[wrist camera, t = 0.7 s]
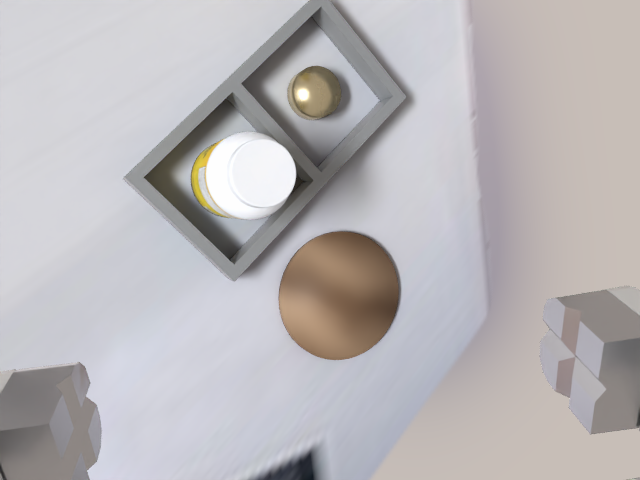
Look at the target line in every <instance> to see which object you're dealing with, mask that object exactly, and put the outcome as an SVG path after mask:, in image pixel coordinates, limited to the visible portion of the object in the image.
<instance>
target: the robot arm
mask: <svg viewBox="0 0 640 480" xmlns="http://www.w3.org/2000/svg"><path fill="white" fill-rule="evenodd" d="M543 321H544V322H545V323H546V324H547V326H548V327H549V328H550V329H549V331H548V332H547V333H546V335H545V336H544V337H543V339H542V340H541V345H540V360H541V364H542V369H543V372H544V374H545V376H546V378H547V381H548V382H549V384H550V385H551V386H552V388H553V389H554V390H555V391H556V392H558V393H561V394H562V395H565V396H567V397H569V398H570V402H569V409H570V410H571V411H572V412H573V414H574V415H575V416H576V417H577V419H579V421H580V422H581V423H582V425H583V426H584V427H585V428H586V430H587V431H588V432H589V433H590V434H596V433H604V432H612V431H619V430H627V429H634V428H639V431H640V290H638V289H637V288H635V287H630V286H623V287H617V288H612V289H606V290H601V291H596V292H589V293H583V294H577V295H570V296H564V297H558V298H552V299H548V300H547V302H546V304H545V307H544V314H543ZM89 385H90V381H89V377H88V374H87V371H86V368H85V366H83V365H82V364H81V363H80V362H77V363H68V364H60V365H51V366H43V367H34V368H26V369H19V370H8V371H1V372H0V480H90V479H89V476H88V472H87V470H88V469H89V468H90V467H91V466H92V465H94V464H95V463H96V462H97V459H98V455H99V452H100V448H101V432H102V430H101V422H100V415H99V412H98V408H97V405H96V404H95V403H94V402H92V401H91V400H90V399H88V398H87V397H86V394H87V391H88V388H89ZM628 480H640V478H634V479H628Z"/></svg>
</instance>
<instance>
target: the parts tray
mask: <svg viewBox="0 0 640 480" xmlns="http://www.w3.org/2000/svg"><path fill="white" fill-rule="evenodd" d="M310 17H312V18H313V19H314V20H315V21H316V23H317V24H318V25H319V26H320V28H321V29H322V30H323V31H324V32H325V34H326V35H327V36H328V37H329V39H330V40H331V41H332V42H333V43H334V45H335V46H336V47H337V48H338V50H339V51H340V52H341V53H342V54H343V56H344V57H345V58H346V59H347V61H348V62H349V63H350V64H351V66H352V67H353V68H354V69H355V70H356V72H357V73H358V74H359V75H360V77H361V78H362V79H363V80H364V81H365V83H366V84H367V85H368V86H369V88H370V89H371V90H372V91H373V92H374V94H375V95H376V96H377V97H378V99H379V100H380V102H379V103H378V104H377V105H376V106H375V107H374V108H373V109H372V110H371V111H370V112H369V113H368V114H367V115H366V116H365V117H364V118H363V119H362V121H361V122H360V123H359V124H358V125H357V126H356V127H355V128H354V129H353V130H352V131H351V132H350V133H349V134H348V135H347V136H346V137H345V138H344V140H343V141H342V142H341V143H340V144H339V145H338V146H337V147H336V148H335V149H334V150H333V151H332V152H331V153H330V154H329V155H328V156H327V157H326V159H325V160H324V161H323V162H322V163H321V164H320V165H319V166H318V167H316V166H315V165H314V164H313V163H312V162H311V160H310V159H309V158H308V157H307V156H306V155H305V154H304V153H303V152H302V151H301V149H300V148H299V147H298V146H297V145H296V144H295V143H294V142H293V141H292V139H291V138H290V137H289V136H288V135H287V134H286V133H285V132H284V131H283V129H282V128H281V127H280V126H279V125H278V124H277V123H276V122H275V121H274V120H273V118H272V117H271V116H270V115H269V114H268V113H267V112H266V111H265V110H264V108H263V107H262V106H261V105H260V104H259V103H258V102H257V101H256V100H255V98H254V97H253V96H252V95H251V94H250V93H249V92H248V91H247V90H246V89H245V87H244V86H243V85H242V84H241V83H242V82H243V81H244V80H245V79H246V78H247V77H248V76H249V75H251V74H252V73H253V72H254V71H255V70H256V69H257V68H258V67H259V66H260V65H261V64H262V63H263V62H264V61H265V60H266V59H267V58H268V57H269V56H270V55H271V54H272V53H273V52H274V51H275V50H276V49H277V48H279V47H280V46H281V45H282V44H283V43H284V42H285V41H286V40H287V39H288V38H289V37H290V36H291V35H292V34H293V33H294V32H295V31H296V30H297V29H298V28H299V27H300V26H301V25H302V24H303V23H304V22H306V21H307V20H308V19H309V18H310ZM226 98H227V99H228V100H229V101H230V102H231V103H232V104H233V106H234V107H235V108H236V109H237V110H238V111H239V112H240V113H241V114H242V115H243V116H244V117H245V119H246V120H247V121H248V122H249V123H250V124H251V125H252V126H253V127H254V128H255V129H256V130H257V132H259V133H262V134H265V135H267V136H269V137H271V138H273V139H274V140H276V141H277V142H278V143H279V144H281V145H282V146H283V147H285V148H286V149H287V150H288V152H289V153H290V155H291V156H292V158H293V160H294V163H295V167H296V174H297V175H298V176H299V177H300V178H301V179H302V180H303V181H304V182H303V183H302V184H301V185H300V186H299V187H298V188H297V189H296V190H295V191H294V192H293V193H292V194H291V196H290V197H289V198H288V199H287V200H286V202H285V203H284V204H283V205H282V207H281V208H280V209H278V210H277V211H276V212H274V213H273V215H272V216H271V217H270V218H269V219H268V220H267V221H266V222H265V223H264V224H263V225H262V226H261V227H260V228H259V229H258V230H257V231H256V232H255V234H254V235H253V236H252V237H251V238H250V239H249V240H248V241H247V242H246V243H245V244H244V245H243V246H242V247H241V248H240V249H239V250H238V252H237V253H236V254H235V255H234V256H233V257H232V258H231V259H230V260H229V259H228V258H227V257H226V256H225V255H224V254H223V253H222V252H221V251H219V250H218V249H217V248H216V247H215V246H214V245H213V244H212V243H211V242H210V241H209V240H208V239H207V238H206V237H205V236H204V235H203V234H202V233H201V232H200V231H199V230H198V229H197V228H196V227H195V226H194V225H193V224H192V223H190V222H189V221H188V220H187V219H186V218H185V217H184V216H183V215H182V214H181V213H180V212H179V211H178V210H177V209H176V208H175V207H174V206H173V205H172V204H171V203H170V202H169V201H168V200H167V199H166V198H165V197H164V196H162V195H161V194H160V193H159V192H158V191H157V190H156V189H155V188H154V187H153V186H152V185H151V184H150V183H149V182H148V181H147V180H146V179H145V178H144V177H145V176H146V175H147V174H148V173H149V172H150V171H151V170H152V169H153V168H154V167H155V166H156V165H157V164H158V163H159V162H160V161H161V160H162V159H163V158H164V157H165V156H166V155H167V154H168V153H170V152H171V151H172V150H173V149H174V148H175V147H176V146H177V145H178V144H179V143H180V142H181V141H182V140H183V139H184V138H185V137H186V136H187V135H188V134H189V133H190V132H191V131H192V130H193V129H194V128H195V127H197V126H198V125H199V124H200V123H201V122H202V121H203V120H204V119H205V118H206V117H207V116H208V115H209V114H210V113H211V112H212V111H213V110H214V109H215V108H216V107H217V106H218V105H219V104H220V103H221V102H222V101H224V100H225V99H226ZM405 98H406V96H405V94H404V93H403V92H402V90H401V89H400V88H399V87H398V85H397V84H396V83H395V82H394V80H393V79H392V78H391V77H390V75H389V74H388V73H387V72H386V70H385V69H384V68H383V67H382V65H381V64H380V63H379V62H378V60H377V59H376V58H375V57H374V55H373V54H372V53H371V52H370V50H369V49H368V48H367V47H366V45H365V44H364V43H363V42H362V40H361V39H360V38H359V37H358V35H357V34H356V33H355V32H354V30H353V29H352V28H351V26H350V25H349V24H348V23H347V21H346V20H345V19H344V18H343V16H342V15H341V14H340V13H339V11H338V10H337V9H336V8H335V6H334V5H333V4H332V3H331V1H330V0H309V1H308V2H307V3H306V4H305V5H304V6H303V7H302V8H301V9H300V10H299V11H298V12H297V13H296V14H295V15H294V16H293V17H292V18H291V19H290V20H288V21H287V22H286V23H285V24H284V25H283V26H282V27H281V28H280V29H279V30H278V31H277V32H276V33H275V34H274V35H273V36H272V37H271V38H270V39H269V40H268V41H266V42H265V43H264V44H263V45H262V46H261V47H260V48H259V49H258V50H257V51H256V52H255V53H254V54H253V55H252V56H251V57H250V58H249V59H248V60H247V61H245V62H244V63H243V64H242V65H241V66H240V67H239V68H238V69H237V70H236V71H235V72H234V73H233V74H232V75H231V76H230V77H229V78H228V79H227V80H226V81H224V82H223V83H222V84H221V85H220V86H219V87H218V88H217V89H216V90H215V91H214V92H213V93H212V94H211V95H210V96H209V97H208V98H207V99H206V100H205V101H203V102H202V103H201V104H200V105H199V106H198V107H197V108H196V109H195V110H194V111H193V112H192V113H191V114H190V115H189V116H188V117H187V118H186V119H185V120H184V121H183V122H181V123H180V124H179V125H178V126H177V127H176V128H175V129H174V130H173V131H172V132H171V133H170V134H169V135H168V136H167V137H166V138H165V139H164V140H163V141H162V142H160V143H159V144H158V145H157V146H156V147H155V148H154V149H153V150H152V151H151V152H150V153H149V154H148V155H147V156H146V157H145V158H144V159H143V160H142V161H141V162H139V163H138V164H137V165H136V166H135V167H134V168H133V169H132V170H131V171H130V172H129V173H128V174H127V175H126V176H125V177H124V178H123V179H124V180H125V181H126V182H127V183H128V184H129V185H130V186H131V187H132V188H133V189H134V190H135V191H136V192H137V193H138V194H139V195H140V196H142V197H143V198H144V199H145V200H146V201H147V202H148V203H149V204H150V205H151V206H152V207H153V208H154V209H155V210H156V211H157V212H158V213H159V214H160V215H162V216H163V217H164V218H165V219H166V220H167V221H168V222H169V223H170V224H171V225H172V226H173V227H174V228H175V229H176V230H177V231H178V232H179V233H181V234H182V235H183V236H184V237H185V238H186V239H187V240H188V241H189V242H190V243H191V244H192V245H193V246H194V247H195V248H196V249H197V250H198V251H199V252H201V253H202V254H203V255H204V256H205V257H206V258H207V259H208V260H209V261H210V262H211V263H212V264H213V265H214V266H215V267H216V268H217V269H218V270H219V271H221V272H222V273H223V274H224V275H225V276H226V277H227V278H228V279H230V280H232V281H234V282H235V281H236V280H237V278H238V277H239V276H240V275H241V274H242V273H243V272H244V271H245V270H246V269H247V268H248V267H249V266H250V265H251V263H252V262H253V261H254V260H255V259H256V258H257V257H258V256H259V255H260V254H261V253H262V252H263V251H264V250H265V248H266V247H267V246H268V245H269V244H270V243H271V242H272V241H273V240H274V239H275V238H276V237H277V236H278V235H279V233H280V232H281V231H282V230H283V229H284V228H285V227H286V226H287V225H288V224H289V223H290V222H291V221H292V220H293V218H294V217H295V216H296V215H297V214H298V213H299V212H300V211H301V210H302V209H303V208H304V207H305V206H306V204H307V203H308V202H309V201H310V200H311V199H312V198H313V197H314V196H315V195H316V194H317V193H318V192H319V191H320V189H321V188H322V187H323V186H324V185H325V184H326V183H327V182H328V181H329V180H330V179H331V178H332V177H333V176H334V174H335V173H336V172H337V171H338V170H339V169H340V168H341V167H342V166H343V165H344V164H345V163H346V162H347V161H348V159H349V158H350V157H351V156H352V155H353V154H354V153H355V152H356V151H357V150H358V149H359V148H360V147H361V146H362V144H363V143H364V142H365V141H366V140H367V139H368V138H369V137H370V136H371V135H372V134H373V133H374V132H375V131H376V129H377V128H378V127H379V126H380V125H381V124H382V123H383V122H384V121H385V120H386V119H387V118H388V117H389V116H390V114H391V113H392V112H393V111H394V110H395V109H396V108H397V107H398V106H399V105H400V104H401V103H402V102H403V101H404V99H405Z"/></svg>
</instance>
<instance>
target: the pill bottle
mask: <svg viewBox="0 0 640 480" xmlns="http://www.w3.org/2000/svg"><path fill="white" fill-rule="evenodd" d="M295 181H296V167H295V163H294V160H293V158H292V156H291V155H290V153H289V152H288V150H287V149H286V148H285V147H283V146H282V145H281V144H279V143H278V142H277V141H276V140H274V139H273V138H271V137H269V136H267V135H265V134H262V133H259V132H251V131H246V132H239V133H236V134H233V135H231V136H229V137H227V138H225V139H223V140H221V141H219V142H217V143H215V144H213V145H211V146H209V147H208V148H206V149H205V150H204V151H203V152H202V153H201V154H200V155H199V156H198V157H197V159H196V160H195V162H194V165H193V167H192V171H191V187H192V190H193V193H194V195H195V197H196V199H197V201H198V202H199V203H200V204H201V206H202V207H203V208H205V209H206V210H207V211H209V212H210V213H212V214H214V215H217V216H220V217H225V218H237V219H245V220H254V219H261V218H264V217H267V216H269V215H271V214H273V213H274V212H276V211H277V210H278V209H280V208H281V207H282V205H283V204H284V203H285V202H286V200H287V198H288V197H289V195H290V193H291V192H292V190H293V187H294V185H295Z"/></svg>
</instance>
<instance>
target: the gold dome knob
mask: <svg viewBox="0 0 640 480" xmlns="http://www.w3.org/2000/svg"><path fill="white" fill-rule="evenodd" d="M287 94H288V101H289V104H290V106H291V108H292V109H293V111H294V112H295V113H296V114H297V115H299V116H300V117H302V118H304V119H308V120H316V119H319V118H322V117H325V116H327V115H329V114H331V113H332V112H333V111H334V110H335V109H336V108H337V106H338V105H339V102H340V98H341V88H340V84H339V82H338V80H337V78H336V77H335V75H334V74H333V73H332V72H331V71H330V70H328V69H326V68H324V67H321V66H311V67H308V68H306V69H304V70H303V71H301V72H300V73H298V74H297V75H295V76H294V77H293V78H292V80H291V81H290V83H289V86H288V93H287Z"/></svg>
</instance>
